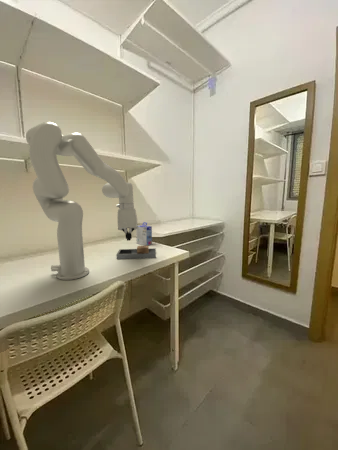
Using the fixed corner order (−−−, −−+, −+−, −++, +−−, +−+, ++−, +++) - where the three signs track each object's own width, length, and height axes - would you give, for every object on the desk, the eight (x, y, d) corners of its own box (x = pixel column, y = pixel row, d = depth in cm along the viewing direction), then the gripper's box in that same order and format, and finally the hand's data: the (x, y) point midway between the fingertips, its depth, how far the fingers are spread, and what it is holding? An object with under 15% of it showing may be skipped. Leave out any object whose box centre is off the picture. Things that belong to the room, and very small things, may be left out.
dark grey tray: (116, 259, 110) (116, 254, 110) (119, 253, 120) (119, 249, 120) (155, 257, 111) (155, 253, 111) (155, 252, 121) (155, 248, 121)
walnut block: (137, 257, 113) (136, 248, 112) (137, 254, 118) (137, 245, 117) (148, 257, 114) (148, 248, 113) (148, 254, 119) (148, 245, 118)
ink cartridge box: (152, 244, 141) (152, 222, 138) (146, 245, 136) (146, 223, 134) (142, 242, 147) (141, 221, 144) (136, 243, 142) (135, 222, 140)
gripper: (110, 207, 107) (113, 242, 110) (140, 206, 108) (142, 241, 111) (113, 206, 114) (116, 239, 118) (141, 205, 115) (143, 237, 119)
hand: (128, 239), depth 115 cm, fingers closed
